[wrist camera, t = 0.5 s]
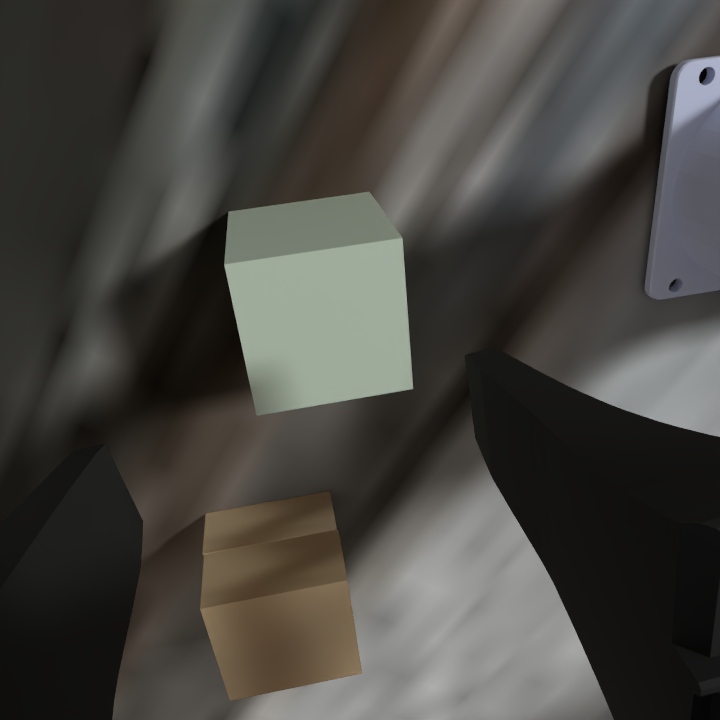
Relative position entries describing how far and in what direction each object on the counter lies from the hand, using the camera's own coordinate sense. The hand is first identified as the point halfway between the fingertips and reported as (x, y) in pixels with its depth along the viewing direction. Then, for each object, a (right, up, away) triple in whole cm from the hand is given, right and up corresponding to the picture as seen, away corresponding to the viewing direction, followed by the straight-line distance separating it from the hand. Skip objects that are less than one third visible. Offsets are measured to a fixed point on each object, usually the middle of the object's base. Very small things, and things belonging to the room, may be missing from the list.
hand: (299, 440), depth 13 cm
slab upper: (-2, -7, +12) cm, 14 cm away
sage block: (0, +5, +9) cm, 10 cm away
